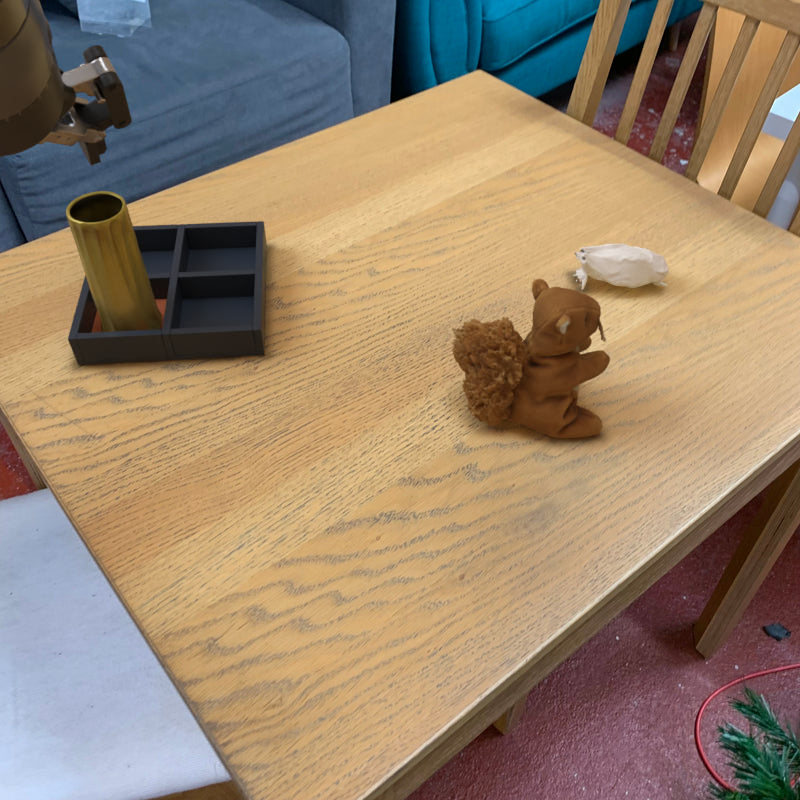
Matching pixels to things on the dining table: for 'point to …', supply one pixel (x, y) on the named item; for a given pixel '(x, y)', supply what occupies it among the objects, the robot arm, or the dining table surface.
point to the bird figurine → (621, 265)
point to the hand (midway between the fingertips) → (28, 174)
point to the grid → (188, 297)
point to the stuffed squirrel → (534, 365)
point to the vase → (113, 262)
